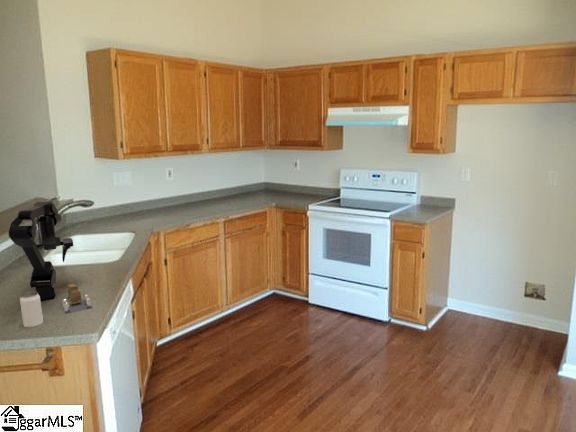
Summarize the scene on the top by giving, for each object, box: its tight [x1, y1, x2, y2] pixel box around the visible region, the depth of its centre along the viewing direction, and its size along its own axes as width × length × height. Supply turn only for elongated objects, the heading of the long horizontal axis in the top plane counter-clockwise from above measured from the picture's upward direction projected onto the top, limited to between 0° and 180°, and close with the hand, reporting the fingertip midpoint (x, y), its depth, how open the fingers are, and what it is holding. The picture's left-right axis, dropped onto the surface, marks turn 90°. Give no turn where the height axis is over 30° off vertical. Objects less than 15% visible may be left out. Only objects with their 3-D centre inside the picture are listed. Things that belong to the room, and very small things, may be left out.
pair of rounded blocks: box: [61, 293, 92, 314], centre depth 184 cm, size 10×6×4 cm, turn 122°
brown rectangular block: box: [66, 283, 82, 303], centre depth 192 cm, size 12×4×6 cm, turn 33°
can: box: [19, 290, 44, 328], centre depth 170 cm, size 6×6×12 cm
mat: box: [61, 299, 93, 315], centre depth 187 cm, size 10×12×1 cm
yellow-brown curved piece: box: [69, 301, 81, 305], centre depth 190 cm, size 4×4×2 cm
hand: (52, 263), depth 205 cm, fingers open, 9 cm apart
